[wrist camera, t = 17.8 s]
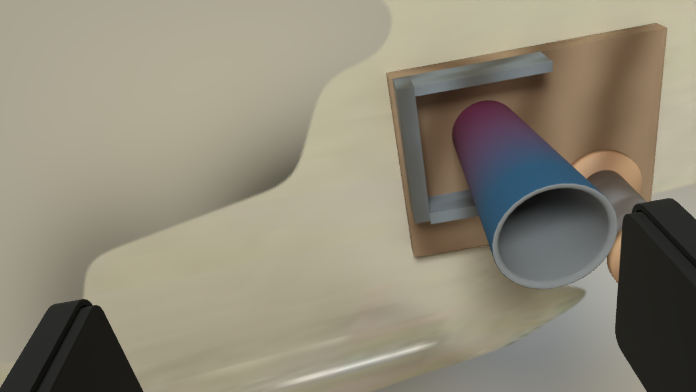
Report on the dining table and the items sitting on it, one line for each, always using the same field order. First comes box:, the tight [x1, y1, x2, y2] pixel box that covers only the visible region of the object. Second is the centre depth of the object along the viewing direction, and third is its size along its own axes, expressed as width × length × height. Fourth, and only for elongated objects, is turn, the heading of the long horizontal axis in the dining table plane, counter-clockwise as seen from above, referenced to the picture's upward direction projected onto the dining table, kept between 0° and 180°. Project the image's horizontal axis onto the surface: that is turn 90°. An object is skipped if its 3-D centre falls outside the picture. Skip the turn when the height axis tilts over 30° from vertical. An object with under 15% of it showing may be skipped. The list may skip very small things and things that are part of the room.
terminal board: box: [386, 23, 667, 283], centre depth 42 cm, size 20×16×12 cm
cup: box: [452, 100, 618, 289], centre depth 38 cm, size 7×7×15 cm
